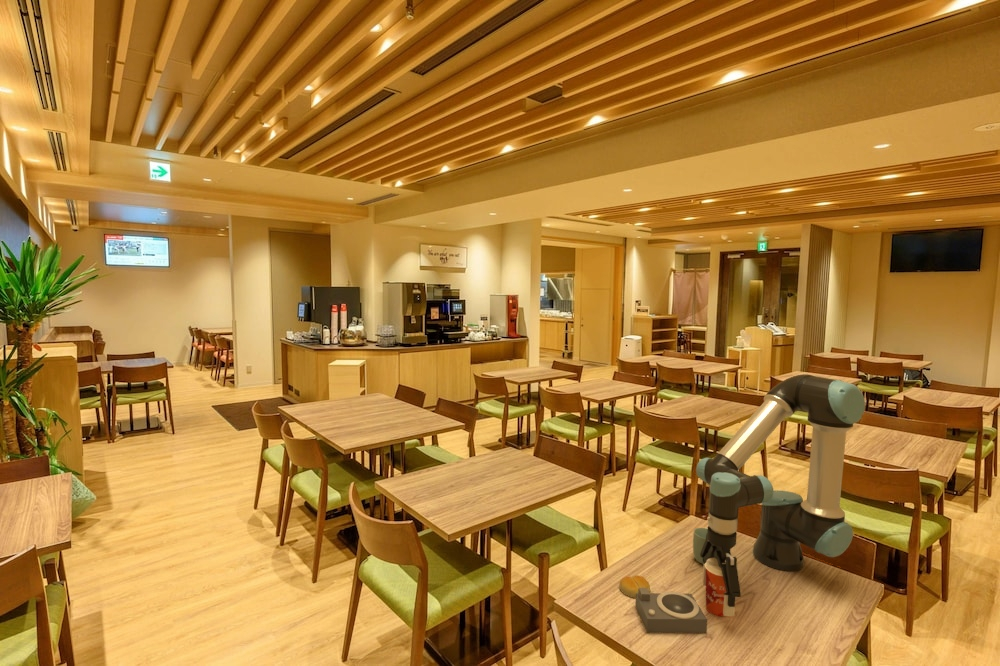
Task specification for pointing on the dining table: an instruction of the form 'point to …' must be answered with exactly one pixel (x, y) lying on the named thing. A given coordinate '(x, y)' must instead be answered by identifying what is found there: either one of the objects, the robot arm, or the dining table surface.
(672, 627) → the block
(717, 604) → the paper cup
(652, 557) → the dining table surface
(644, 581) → the bread roll
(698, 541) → the cup
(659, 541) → the dining table surface
